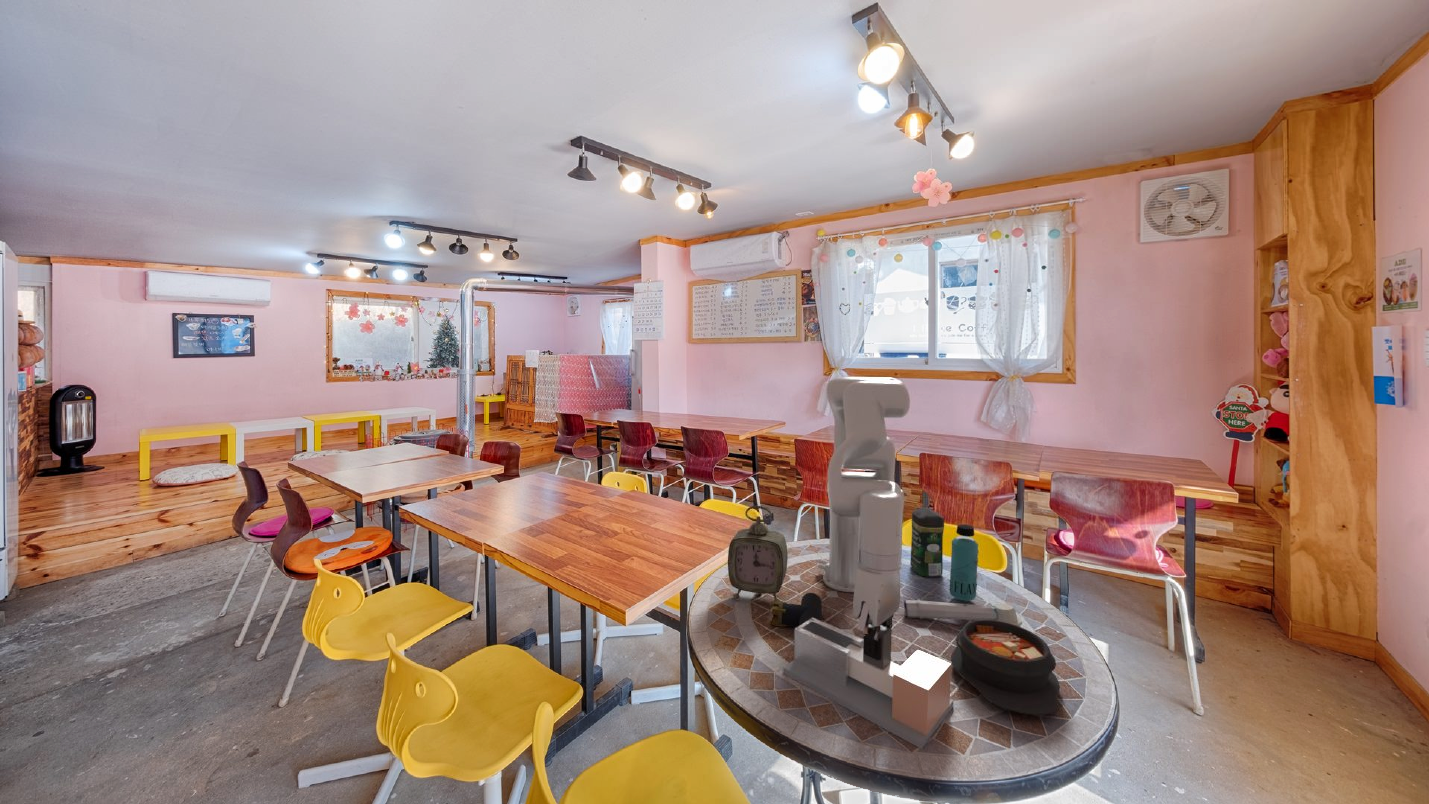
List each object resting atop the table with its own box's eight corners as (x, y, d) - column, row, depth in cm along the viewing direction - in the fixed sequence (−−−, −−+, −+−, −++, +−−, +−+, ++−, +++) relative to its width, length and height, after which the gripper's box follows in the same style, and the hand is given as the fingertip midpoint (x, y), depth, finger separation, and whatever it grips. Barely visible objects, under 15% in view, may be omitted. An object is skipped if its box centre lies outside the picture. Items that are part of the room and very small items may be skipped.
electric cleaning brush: (903, 595, 126) (1016, 597, 118) (906, 621, 127) (1019, 625, 118) (903, 605, 121) (1022, 608, 113) (907, 632, 122) (1025, 636, 113)
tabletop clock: (727, 602, 131) (727, 508, 129) (736, 586, 140) (736, 498, 137) (783, 609, 127) (783, 513, 124) (788, 593, 135) (789, 502, 133)
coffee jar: (906, 564, 154) (908, 505, 152) (932, 564, 153) (934, 505, 152) (918, 578, 144) (920, 515, 142) (946, 578, 144) (948, 515, 142)
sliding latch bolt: (839, 672, 98) (840, 619, 97) (850, 662, 101) (851, 611, 100) (922, 712, 86) (924, 654, 86) (931, 701, 89) (933, 644, 88)
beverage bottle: (949, 604, 129) (952, 528, 127) (947, 592, 135) (950, 520, 134) (977, 608, 127) (981, 531, 125) (975, 597, 133) (978, 523, 131)
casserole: (938, 639, 114) (939, 603, 113) (1029, 648, 110) (1031, 612, 109) (969, 716, 89) (971, 671, 88) (1088, 732, 85) (1091, 686, 85)
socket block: (891, 717, 87) (893, 673, 87) (916, 690, 94) (917, 649, 94) (926, 735, 83) (928, 690, 82) (949, 705, 90) (951, 663, 89)
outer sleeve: (794, 659, 104) (794, 629, 103) (811, 646, 109) (812, 617, 108) (845, 686, 96) (846, 653, 95) (862, 671, 100) (863, 639, 100)
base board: (783, 673, 101) (783, 667, 101) (821, 644, 111) (821, 639, 111) (921, 749, 82) (921, 742, 82) (953, 706, 92) (953, 700, 92)
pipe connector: (769, 618, 113) (775, 588, 128) (768, 640, 114) (775, 607, 128) (821, 624, 111) (822, 593, 125) (820, 647, 111) (821, 613, 126)
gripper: (881, 540, 101) (878, 628, 102) (837, 565, 89) (836, 663, 91) (918, 550, 95) (915, 642, 97) (877, 578, 84) (874, 682, 86)
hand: (877, 651), depth 94 cm, fingers closed on sliding latch bolt, 3 cm apart
